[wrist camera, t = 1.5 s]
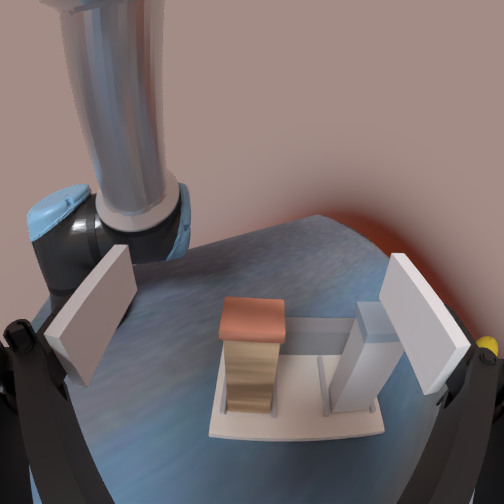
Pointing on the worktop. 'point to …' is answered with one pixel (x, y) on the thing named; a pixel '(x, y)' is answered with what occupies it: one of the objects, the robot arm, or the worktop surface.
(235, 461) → the worktop surface
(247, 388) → the beige wooden tall block
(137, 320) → the worktop surface
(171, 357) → the worktop surface
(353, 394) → the grey tall block
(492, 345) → the lemon
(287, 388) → the switch base
